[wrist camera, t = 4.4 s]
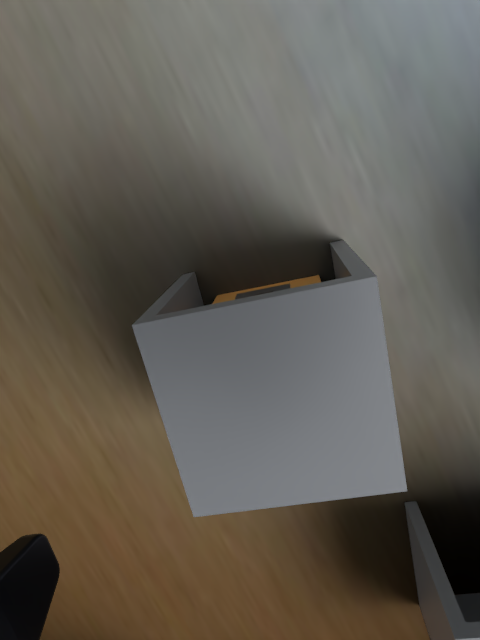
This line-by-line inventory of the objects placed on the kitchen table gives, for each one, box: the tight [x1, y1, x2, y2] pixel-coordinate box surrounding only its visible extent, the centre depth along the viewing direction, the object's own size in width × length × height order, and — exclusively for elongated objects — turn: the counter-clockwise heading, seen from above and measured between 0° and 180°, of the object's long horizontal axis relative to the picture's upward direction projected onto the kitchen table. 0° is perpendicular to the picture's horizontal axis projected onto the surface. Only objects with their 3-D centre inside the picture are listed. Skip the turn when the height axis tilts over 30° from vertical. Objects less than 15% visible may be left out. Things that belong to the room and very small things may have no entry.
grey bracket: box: [132, 240, 407, 517], centre depth 14 cm, size 6×6×6 cm
